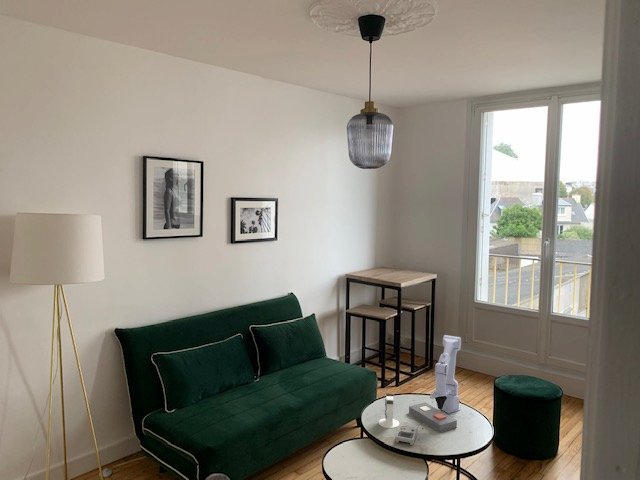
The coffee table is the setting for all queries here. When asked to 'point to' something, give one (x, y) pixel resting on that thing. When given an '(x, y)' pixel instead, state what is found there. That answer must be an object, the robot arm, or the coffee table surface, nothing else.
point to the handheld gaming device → (406, 434)
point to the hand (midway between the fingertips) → (440, 408)
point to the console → (430, 420)
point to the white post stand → (389, 414)
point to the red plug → (439, 416)
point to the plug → (425, 408)
